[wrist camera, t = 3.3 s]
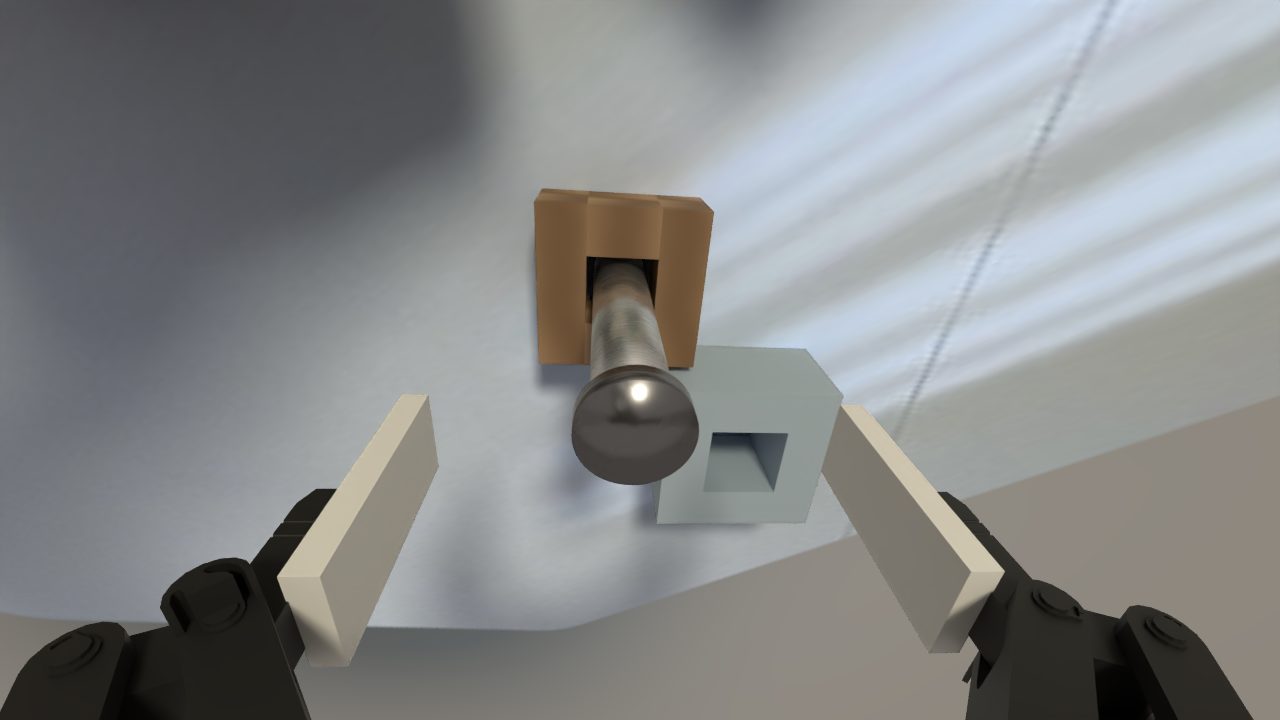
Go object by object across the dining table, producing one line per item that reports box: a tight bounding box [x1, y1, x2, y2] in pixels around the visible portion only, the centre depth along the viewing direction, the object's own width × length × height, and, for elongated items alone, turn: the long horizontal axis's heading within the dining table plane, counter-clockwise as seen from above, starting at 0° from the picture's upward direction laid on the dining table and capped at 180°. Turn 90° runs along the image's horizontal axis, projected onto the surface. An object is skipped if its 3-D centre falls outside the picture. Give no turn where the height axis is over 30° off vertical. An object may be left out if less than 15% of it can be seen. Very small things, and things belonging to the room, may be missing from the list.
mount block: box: [534, 189, 714, 367], centre depth 29 cm, size 9×9×4 cm
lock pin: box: [572, 257, 699, 485], centre depth 23 cm, size 4×4×17 cm
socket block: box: [652, 346, 843, 524], centre depth 33 cm, size 10×10×6 cm
